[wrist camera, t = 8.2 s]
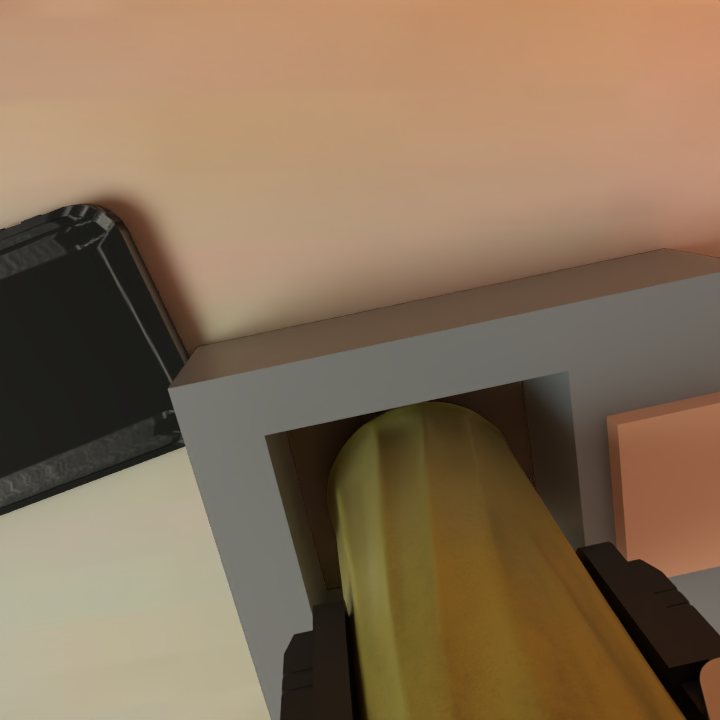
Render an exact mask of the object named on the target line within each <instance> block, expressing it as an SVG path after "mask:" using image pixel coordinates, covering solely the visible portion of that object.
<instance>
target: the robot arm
mask: <svg viewBox="0 0 720 720" xmlns="http://www.w3.org/2000/svg"><path fill="white" fill-rule="evenodd" d="M576 555H577V556H578V558H579V559H580V561H581V562H582V564H583V565H584V567H585V569H586V570H587V572H588V573H589V575H590V576H591V578H592V580H593V581H594V583H595V584H596V586H597V587H598V589H599V590H600V592H601V593H602V595H603V597H604V598H605V600H606V601H607V603H608V604H609V606H610V607H611V609H612V610H613V612H614V613H615V615H616V616H617V618H618V619H619V621H620V622H621V624H622V625H623V627H624V628H625V630H626V631H627V633H628V634H629V636H630V637H631V639H632V640H633V642H634V643H635V645H636V646H637V648H638V649H639V651H640V652H641V654H642V655H643V657H644V658H645V660H646V661H647V663H648V664H649V666H650V667H651V669H652V670H653V672H654V673H655V674H656V676H657V677H658V679H659V680H660V682H661V683H662V685H663V686H664V688H665V689H666V691H667V692H668V694H669V695H670V697H671V698H672V699H673V701H674V702H675V704H676V705H677V706H678V708H679V709H680V711H681V712H682V714H683V715H684V716H685V718H686V719H687V720H720V635H719V634H718V633H717V632H716V630H715V629H714V628H713V627H712V626H711V625H710V624H709V623H708V622H707V621H706V619H705V618H704V617H703V616H702V615H701V614H700V613H699V612H698V611H697V609H696V608H695V607H694V606H693V605H690V602H689V601H688V600H687V598H686V597H685V596H684V595H683V594H682V593H681V592H680V591H679V592H678V590H677V587H676V586H675V585H674V584H673V583H672V582H671V581H670V580H669V579H668V577H667V576H666V575H665V574H664V573H663V572H662V571H660V570H659V569H657V568H655V567H653V566H652V565H650V564H648V563H646V562H645V561H643V560H641V559H637V560H633V561H627V560H626V559H625V558H624V557H623V555H622V554H621V553H620V552H619V551H618V549H617V548H616V547H615V546H614V545H613V544H612V543H611V542H603V543H599V544H594V545H590V546H585V547H580V548H577V550H576ZM280 720H360V718H359V710H358V702H357V692H356V682H355V672H354V662H353V651H352V641H351V631H350V621H349V614H348V610H347V606H346V603H345V600H344V599H340V600H336V601H331V602H327V603H322V604H318V605H314V606H313V630H311V631H307V632H302V633H298V634H294V635H293V637H292V639H291V641H290V643H289V645H288V647H287V649H286V651H285V653H284V660H283V678H282V695H281V711H280Z"/></svg>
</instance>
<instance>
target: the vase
mask: <svg viewBox="0 0 720 720" xmlns="http://www.w3.org/2000/svg"><path fill="white" fill-rule="evenodd" d="M327 503H328V511H329V516H330V520H331V523H332V526H333V528H334V531H335V534H336V540H337V548H338V557H339V566H340V573H341V581H342V589H343V597H344V600H345V603H346V606H347V610H348V614H349V621H350V631H351V641H352V651H353V662H354V672H355V682H356V692H357V702H358V710H359V718H360V720H687V719H686V718H685V716H684V715H683V714H682V712H681V711H680V709H679V708H678V706H677V705H676V704H675V702H674V701H673V699H672V698H671V697H670V695H669V694H668V692H667V691H666V689H665V688H664V686H663V685H662V683H661V682H660V680H659V679H658V677H657V676H656V674H655V673H654V672H653V670H652V669H651V667H650V666H649V664H648V663H647V661H646V660H645V658H644V657H643V655H642V654H641V652H640V651H639V649H638V648H637V646H636V645H635V643H634V642H633V640H632V639H631V637H630V636H629V634H628V633H627V631H626V630H625V628H624V627H623V625H622V624H621V622H620V621H619V619H618V618H617V616H616V615H615V613H614V612H613V610H612V609H611V607H610V606H609V604H608V603H607V601H606V600H605V598H604V597H603V595H602V593H601V592H600V590H599V589H598V587H597V586H596V584H595V583H594V581H593V580H592V578H591V576H590V575H589V573H588V572H587V570H586V569H585V567H584V565H583V564H582V562H581V561H580V559H579V558H578V556H577V555H576V553H575V551H574V550H573V548H572V547H571V545H570V544H569V542H568V541H567V539H566V538H565V536H564V535H563V533H562V532H561V530H560V528H559V527H558V525H557V524H556V522H555V521H554V519H553V517H552V516H551V514H550V513H549V511H548V509H547V508H546V506H545V505H544V503H543V501H542V500H541V498H540V497H539V495H538V493H537V492H536V490H535V489H534V487H533V485H532V484H531V482H530V481H529V479H528V477H527V476H526V474H525V472H524V471H523V469H522V468H521V466H520V465H519V463H518V462H517V460H516V459H515V457H514V455H513V453H512V451H511V449H510V447H509V445H508V443H507V441H506V439H505V437H504V436H503V434H502V432H501V431H500V430H499V429H498V428H497V427H496V426H494V425H493V424H492V423H491V422H489V421H488V420H486V419H485V418H484V417H482V416H481V415H479V414H478V413H476V412H474V411H472V410H470V409H467V408H465V407H462V406H458V405H455V404H450V403H445V402H420V403H415V404H410V405H406V406H401V407H396V408H394V409H391V410H389V411H387V412H385V413H383V414H381V415H379V416H377V417H376V418H374V419H372V420H370V421H369V422H367V423H366V424H364V425H363V426H361V427H360V428H359V429H358V430H357V431H356V432H355V433H354V434H353V435H352V436H351V437H350V438H349V439H348V441H347V442H346V443H345V445H344V446H343V447H342V449H341V451H340V452H339V454H338V456H337V457H336V459H335V461H334V464H333V466H332V468H331V472H330V475H329V481H328V489H327Z"/></svg>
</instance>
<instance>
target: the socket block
mask: <svg viewBox="0 0 720 720" xmlns="http://www.w3.org/2000/svg"><path fill="white" fill-rule="evenodd" d="M518 381H523V388H524V396H525V404H526V413H527V421H528V429H529V437H530V445H531V454H532V462H533V470H534V478H535V486H536V492H537V493H538V495H539V497H540V498H541V500H542V501H543V503H544V505H545V506H546V508H547V509H548V511H549V513H550V514H551V516H552V517H553V519H554V521H555V522H556V524H557V525H558V527H559V528H560V530H561V532H562V533H563V535H564V536H565V538H566V539H567V541H568V542H569V544H570V545H571V547H572V548H573V550H574V551H575V553H576V550H577V548H580V547H585V546H590V545H594V544H599V543H603V542H611V543H612V544H613V545H614V546H615V547H616V548H617V549H618V551H619V552H620V553H621V554H622V555H623V557H624V558H625V559H626V560H627V561H633V560H637V559H641V560H643V561H645V562H646V563H648V564H650V565H652V566H653V567H655V568H657V569H659V570H660V571H662V572H663V573H664V574H665V575H666V576H667V577H668V579H669V580H670V581H671V582H672V583H673V584H674V585H675V586H676V587H677V590H678V592H679V591H680V592H681V593H682V594H683V595H684V596H685V597H686V598H687V600H688V601H689V602H690V605H693V606H694V607H695V608H696V609H697V611H698V612H699V613H700V614H701V615H702V616H703V617H704V618H705V619H706V621H707V622H708V623H709V624H710V625H711V626H712V627H713V628H714V629H715V630H716V632H717V633H718V634H719V635H720V258H717V257H711V256H705V255H699V254H694V253H688V252H682V251H676V250H670V249H665V248H664V249H660V250H655V251H650V252H645V253H641V254H636V255H631V256H626V257H622V258H617V259H612V260H607V261H603V262H598V263H593V264H588V265H584V266H579V267H574V268H569V269H565V270H560V271H555V272H550V273H546V274H541V275H536V276H531V277H527V278H522V279H517V280H512V281H508V282H503V283H498V284H493V285H489V286H484V287H479V288H474V289H470V290H465V291H460V292H455V293H451V294H446V295H441V296H436V297H432V298H427V299H422V300H417V301H413V302H408V303H403V304H398V305H394V306H389V307H384V308H379V309H375V310H370V311H365V312H360V313H356V314H351V315H346V316H341V317H337V318H332V319H327V320H322V321H318V322H313V323H308V324H303V325H299V326H294V327H289V328H284V329H280V330H275V331H270V332H265V333H261V334H256V335H251V336H246V337H242V338H237V339H232V340H227V341H223V342H218V343H213V344H208V345H204V346H199V347H197V349H196V350H195V352H194V353H193V354H192V356H191V357H190V358H189V360H188V361H187V363H186V364H185V365H184V367H183V368H182V370H181V371H180V372H179V374H178V375H177V376H176V378H175V379H174V381H173V382H172V383H171V385H170V386H169V388H168V392H169V395H170V398H171V401H172V405H173V408H174V411H175V414H176V417H177V420H178V424H179V427H180V430H181V433H182V436H183V440H184V443H185V446H186V449H187V452H188V456H189V459H190V462H191V465H192V468H193V472H194V475H195V478H196V481H197V484H198V488H199V491H200V494H201V497H202V500H203V504H204V507H205V510H206V513H207V516H208V520H209V523H210V526H211V529H212V532H213V535H214V539H215V542H216V545H217V548H218V551H219V555H220V558H221V561H222V564H223V567H224V571H225V574H226V577H227V580H228V583H229V587H230V590H231V593H232V596H233V599H234V603H235V606H236V609H237V612H238V615H239V619H240V622H241V625H242V628H243V631H244V635H245V638H246V641H247V644H248V647H249V651H250V654H251V657H252V660H253V663H254V666H255V670H256V673H257V676H258V679H259V682H260V686H261V689H262V692H263V695H264V698H265V702H266V705H267V708H268V711H269V714H270V718H271V720H280V711H281V695H282V678H283V660H284V653H285V651H286V649H287V647H288V645H289V643H290V641H291V639H292V637H293V635H294V634H298V633H302V632H307V631H311V630H313V606H314V605H318V604H322V603H327V602H331V601H336V600H340V599H344V597H343V589H342V587H340V588H335V589H331V590H326V586H325V582H324V578H323V574H322V571H321V567H320V563H319V559H318V555H317V551H316V547H315V543H314V539H313V535H312V531H311V527H310V524H309V520H308V516H307V512H306V508H305V504H304V500H303V496H302V492H301V488H300V484H299V480H298V477H297V473H296V469H295V465H294V461H293V457H292V453H291V449H290V445H289V441H288V437H287V433H286V431H288V430H293V429H298V428H303V427H307V426H312V425H317V424H321V423H326V422H331V421H335V420H340V419H345V418H349V417H354V416H359V415H363V414H368V413H373V412H377V411H382V410H387V409H391V408H396V407H401V406H406V405H410V404H415V403H420V402H424V401H429V400H434V399H438V398H443V397H448V396H452V395H457V394H462V393H466V392H471V391H476V390H480V389H485V388H490V387H494V386H499V385H504V384H508V383H513V382H518Z"/></svg>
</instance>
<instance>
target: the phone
mask: <svg viewBox="0 0 720 720" xmlns="http://www.w3.org/2000/svg"><path fill="white" fill-rule="evenodd" d="M189 358H190V357H189V355H188V353H187V351H186V349H185V347H184V345H183V343H182V341H181V339H180V337H179V334H178V332H177V330H176V328H175V326H174V324H173V322H172V320H171V318H170V316H169V314H168V312H167V309H166V307H165V305H164V303H163V301H162V299H161V297H160V295H159V293H158V291H157V289H156V287H155V284H154V282H153V280H152V278H151V276H150V274H149V272H148V270H147V268H146V266H145V264H144V262H143V259H142V257H141V255H140V253H139V251H138V249H137V247H136V245H135V243H134V241H133V239H132V236H131V234H130V232H129V230H128V229H127V227H126V226H125V224H124V223H123V221H122V220H121V219H120V218H119V217H117V216H116V215H115V214H114V213H113V212H111V211H110V210H107V209H105V208H103V207H101V206H98V205H89V204H79V205H71V206H66V207H62V208H59V209H57V210H54V211H52V212H49V213H47V214H44V215H38V216H35V217H33V218H30V219H27V220H25V221H22V222H21V224H18V225H16V226H13V227H11V228H8V229H5V228H4V229H0V516H1V515H3V514H6V513H9V512H11V511H14V510H17V509H19V508H22V507H25V506H27V505H30V504H33V503H35V502H38V501H41V500H43V499H46V498H49V497H51V496H54V495H57V494H59V493H62V492H65V491H67V490H70V489H73V488H75V487H78V486H81V485H83V484H86V483H89V482H91V481H94V480H97V479H99V478H102V477H104V476H107V475H110V474H112V473H115V472H118V471H120V470H123V469H126V468H128V467H131V466H134V465H136V464H139V463H142V462H144V461H147V460H150V459H152V458H155V457H158V456H160V455H163V454H166V453H168V452H171V451H174V450H176V449H179V448H182V447H184V446H185V443H184V440H183V436H182V433H181V430H180V427H179V424H178V420H177V417H176V414H175V411H174V408H173V405H172V401H171V398H170V395H169V392H168V388H169V386H170V385H171V383H172V382H173V381H174V379H175V378H176V376H177V375H178V374H179V372H180V371H181V370H182V368H183V367H184V365H185V364H186V363H187V361H188V360H189Z"/></svg>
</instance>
